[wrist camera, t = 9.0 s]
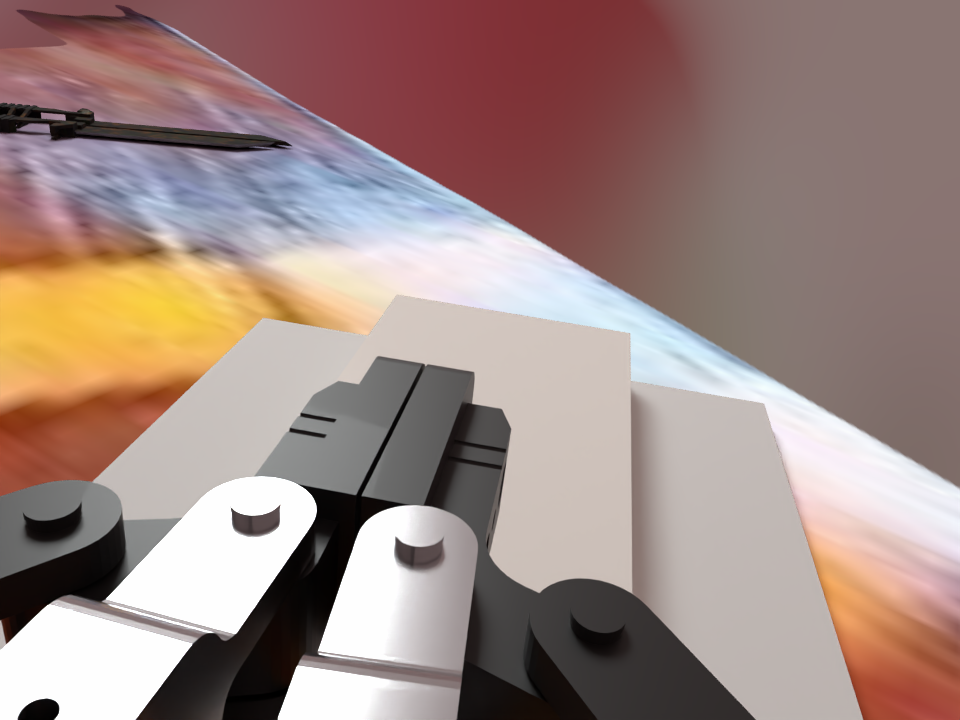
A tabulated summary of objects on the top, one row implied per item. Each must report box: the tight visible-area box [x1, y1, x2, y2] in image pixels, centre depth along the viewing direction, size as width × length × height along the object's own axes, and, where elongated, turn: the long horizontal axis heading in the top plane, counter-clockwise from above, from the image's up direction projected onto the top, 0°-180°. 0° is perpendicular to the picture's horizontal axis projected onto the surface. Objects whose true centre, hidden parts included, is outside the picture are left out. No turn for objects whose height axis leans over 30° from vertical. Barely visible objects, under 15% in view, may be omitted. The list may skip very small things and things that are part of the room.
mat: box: [0, 318, 863, 720], centre depth 24 cm, size 20×19×1 cm
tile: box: [335, 295, 632, 593], centre depth 25 cm, size 9×2×15 cm
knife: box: [0, 103, 292, 148], centre depth 60 cm, size 25×6×1 cm, turn 89°
